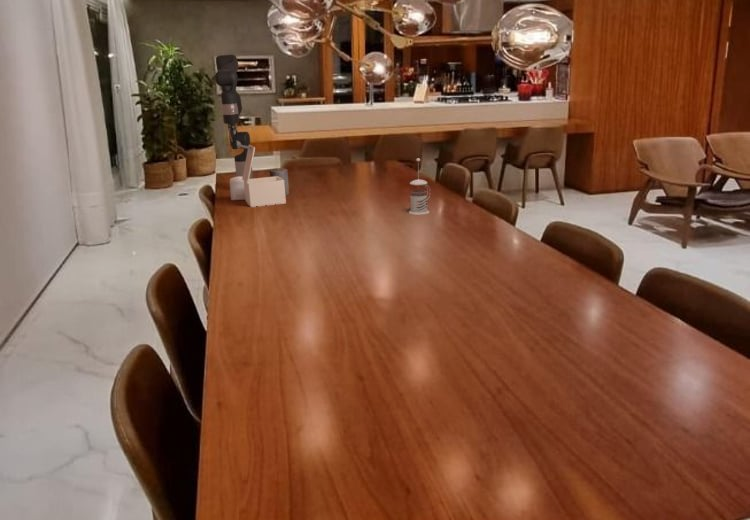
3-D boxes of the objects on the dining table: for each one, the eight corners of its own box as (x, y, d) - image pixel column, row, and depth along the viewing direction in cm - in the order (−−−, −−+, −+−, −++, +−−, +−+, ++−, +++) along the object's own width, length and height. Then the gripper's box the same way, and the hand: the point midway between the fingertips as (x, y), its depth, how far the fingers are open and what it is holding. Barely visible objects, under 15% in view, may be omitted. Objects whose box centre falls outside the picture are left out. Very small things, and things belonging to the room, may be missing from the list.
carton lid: (243, 179, 329) (224, 175, 325) (250, 143, 325) (231, 138, 322) (248, 183, 316) (228, 179, 312) (255, 145, 313) (236, 141, 309)
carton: (245, 202, 332) (243, 179, 329) (279, 198, 339) (277, 176, 335) (250, 207, 320) (248, 183, 316) (285, 203, 326) (284, 180, 323)
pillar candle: (268, 194, 350) (265, 167, 345) (282, 192, 356) (280, 165, 352) (277, 197, 343) (275, 169, 338) (292, 194, 349) (290, 167, 345)
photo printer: (250, 198, 343) (248, 175, 339) (250, 199, 339) (248, 176, 335) (231, 199, 342) (229, 176, 338) (230, 201, 338) (228, 177, 334)
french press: (404, 212, 296) (402, 158, 288) (422, 208, 303) (421, 155, 296) (418, 215, 289) (417, 160, 281) (436, 211, 296) (436, 157, 288)
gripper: (220, 113, 316) (225, 148, 321) (224, 114, 304) (229, 151, 309) (235, 112, 319) (239, 146, 324) (240, 113, 306) (244, 149, 312)
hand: (234, 148), depth 316 cm, fingers closed
